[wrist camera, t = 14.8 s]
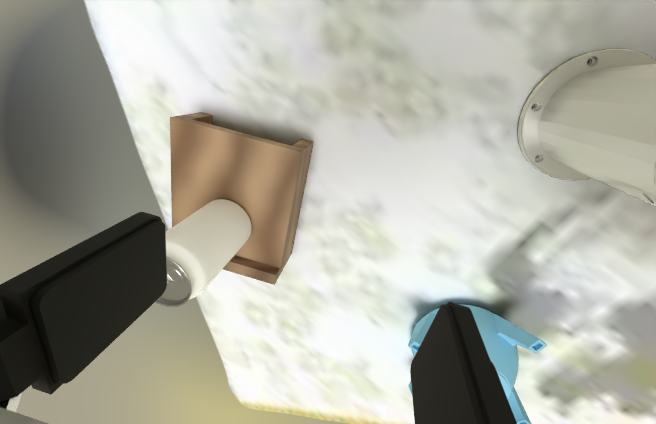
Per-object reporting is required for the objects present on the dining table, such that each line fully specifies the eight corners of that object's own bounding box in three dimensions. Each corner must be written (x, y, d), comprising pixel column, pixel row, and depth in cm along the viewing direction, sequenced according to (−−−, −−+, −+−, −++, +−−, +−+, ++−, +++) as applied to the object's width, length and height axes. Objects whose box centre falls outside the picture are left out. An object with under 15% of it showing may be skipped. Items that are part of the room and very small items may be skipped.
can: (262, 235, 36) (209, 301, 25) (222, 250, 38) (156, 317, 27) (235, 189, 34) (165, 239, 23) (194, 208, 36) (112, 261, 25)
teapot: (403, 291, 43) (408, 352, 33) (517, 292, 39) (560, 359, 30) (407, 365, 48) (412, 436, 39) (507, 371, 45) (540, 450, 36)
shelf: (313, 141, 36) (297, 155, 29) (291, 253, 43) (274, 284, 37) (201, 112, 37) (160, 118, 30) (198, 226, 44) (164, 251, 38)
